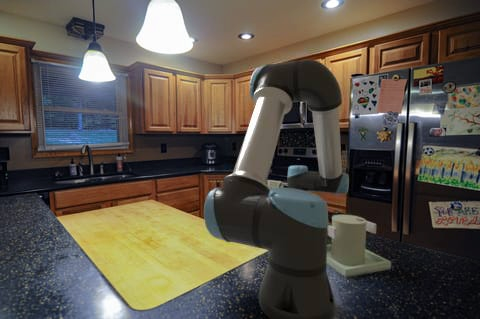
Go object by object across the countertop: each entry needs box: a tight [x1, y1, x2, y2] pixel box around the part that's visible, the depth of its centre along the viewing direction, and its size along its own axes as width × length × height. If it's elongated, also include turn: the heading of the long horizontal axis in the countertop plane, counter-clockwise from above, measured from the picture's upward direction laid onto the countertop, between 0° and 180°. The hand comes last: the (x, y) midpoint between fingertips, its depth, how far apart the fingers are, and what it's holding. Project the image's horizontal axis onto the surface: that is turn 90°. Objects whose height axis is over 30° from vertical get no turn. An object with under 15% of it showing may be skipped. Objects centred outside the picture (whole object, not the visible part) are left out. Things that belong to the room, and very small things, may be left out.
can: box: [330, 215, 368, 266], centre depth 73 cm, size 9×9×12 cm
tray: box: [326, 243, 392, 278], centre depth 73 cm, size 15×15×2 cm
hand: (356, 231), depth 70 cm, fingers open, 13 cm apart
